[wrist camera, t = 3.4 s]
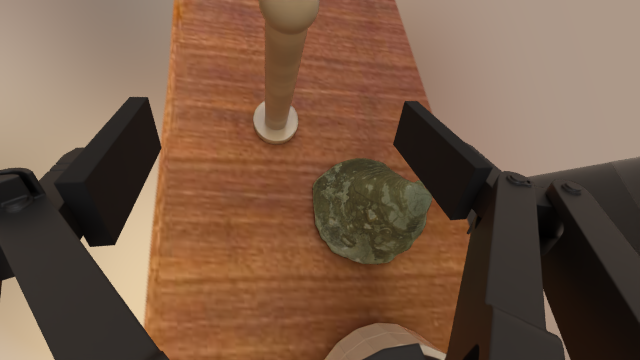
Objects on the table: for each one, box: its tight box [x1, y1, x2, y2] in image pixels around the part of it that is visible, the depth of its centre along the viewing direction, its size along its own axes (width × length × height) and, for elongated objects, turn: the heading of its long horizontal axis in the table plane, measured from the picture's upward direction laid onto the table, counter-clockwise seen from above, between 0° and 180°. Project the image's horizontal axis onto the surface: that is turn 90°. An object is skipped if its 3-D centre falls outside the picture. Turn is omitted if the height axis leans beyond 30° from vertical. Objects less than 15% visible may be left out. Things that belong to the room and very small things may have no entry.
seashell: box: [312, 158, 432, 264], centre depth 29 cm, size 10×7×10 cm
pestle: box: [253, 0, 319, 144], centre depth 21 cm, size 4×4×18 cm
